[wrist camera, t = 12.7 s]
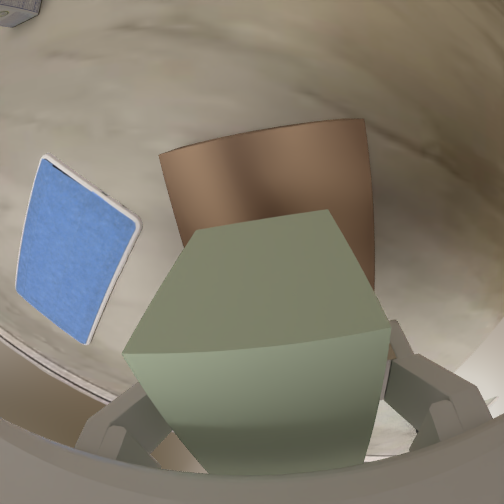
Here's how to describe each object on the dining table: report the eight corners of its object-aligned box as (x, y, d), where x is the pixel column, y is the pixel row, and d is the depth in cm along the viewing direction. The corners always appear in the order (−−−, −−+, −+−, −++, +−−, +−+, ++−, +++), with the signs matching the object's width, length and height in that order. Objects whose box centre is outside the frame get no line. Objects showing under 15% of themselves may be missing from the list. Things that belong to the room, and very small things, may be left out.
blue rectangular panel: (49, 148, 21) (40, 150, 20) (149, 218, 24) (143, 224, 22) (19, 285, 28) (13, 290, 27) (91, 342, 31) (87, 349, 30)
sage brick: (327, 209, 9) (391, 327, 4) (336, 360, 12) (357, 480, 7) (196, 230, 10) (121, 353, 5) (239, 371, 13) (223, 489, 7)
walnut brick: (344, 118, 19) (364, 118, 14) (357, 265, 24) (373, 298, 19) (182, 146, 21) (158, 154, 16) (219, 284, 26) (208, 320, 21)
